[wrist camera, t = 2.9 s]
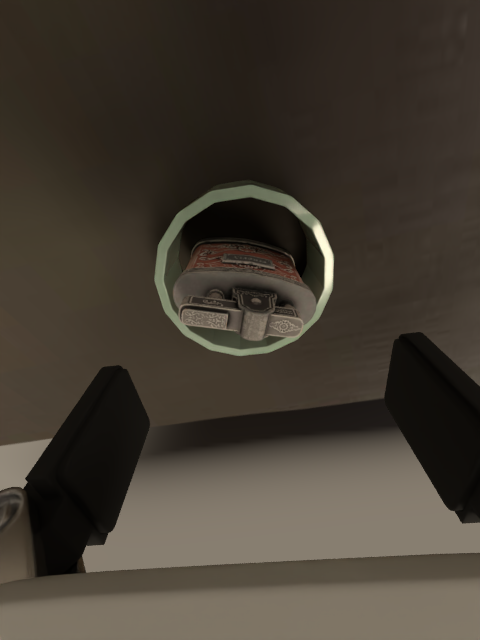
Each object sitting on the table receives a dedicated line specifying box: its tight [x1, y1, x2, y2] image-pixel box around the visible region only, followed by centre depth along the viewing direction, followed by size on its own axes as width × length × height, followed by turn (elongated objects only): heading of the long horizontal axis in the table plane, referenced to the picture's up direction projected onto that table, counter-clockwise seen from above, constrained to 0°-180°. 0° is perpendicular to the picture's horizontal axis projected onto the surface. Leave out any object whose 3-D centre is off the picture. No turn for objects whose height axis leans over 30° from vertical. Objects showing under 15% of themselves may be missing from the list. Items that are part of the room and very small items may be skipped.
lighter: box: [173, 237, 317, 341], centre depth 17 cm, size 8×3×10 cm, turn 82°
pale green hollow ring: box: [154, 180, 334, 356], centre depth 19 cm, size 11×11×5 cm
